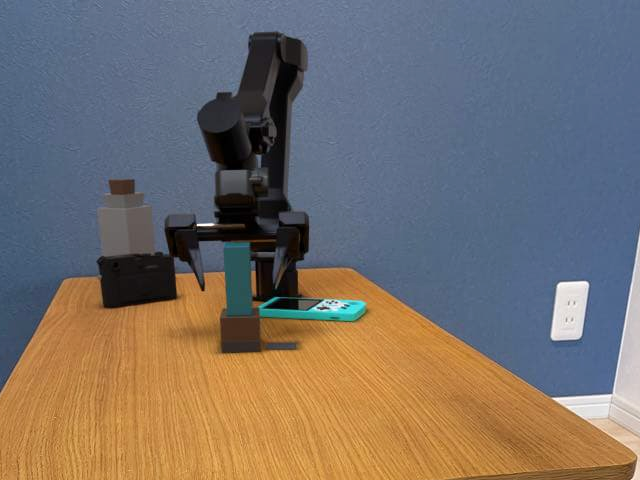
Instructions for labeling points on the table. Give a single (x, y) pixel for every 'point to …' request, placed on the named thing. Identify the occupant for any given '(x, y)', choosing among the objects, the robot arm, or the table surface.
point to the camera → (136, 279)
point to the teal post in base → (239, 302)
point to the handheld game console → (313, 309)
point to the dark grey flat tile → (281, 345)
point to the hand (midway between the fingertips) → (238, 288)
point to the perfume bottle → (125, 221)
